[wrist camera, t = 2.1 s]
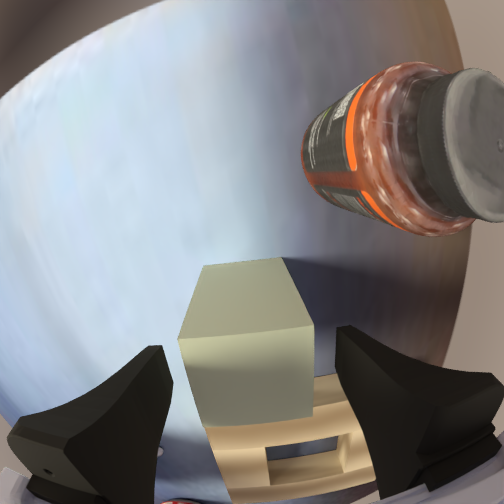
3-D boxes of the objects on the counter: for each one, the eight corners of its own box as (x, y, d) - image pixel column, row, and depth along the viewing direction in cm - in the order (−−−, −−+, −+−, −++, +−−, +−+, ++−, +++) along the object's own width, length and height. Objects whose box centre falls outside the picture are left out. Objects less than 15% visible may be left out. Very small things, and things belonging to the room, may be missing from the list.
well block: (366, 459, 23) (375, 480, 20) (232, 481, 23) (233, 503, 20) (391, 360, 20) (408, 384, 17) (205, 389, 19) (201, 418, 16)
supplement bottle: (392, 208, 17) (542, 260, 6) (299, 208, 16) (404, 277, 5) (390, 112, 15) (538, 73, 4) (296, 103, 15) (390, 1, 4)
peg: (285, 325, 18) (312, 416, 11) (214, 333, 18) (203, 427, 10) (281, 257, 17) (314, 325, 9) (203, 265, 17) (177, 338, 9)
